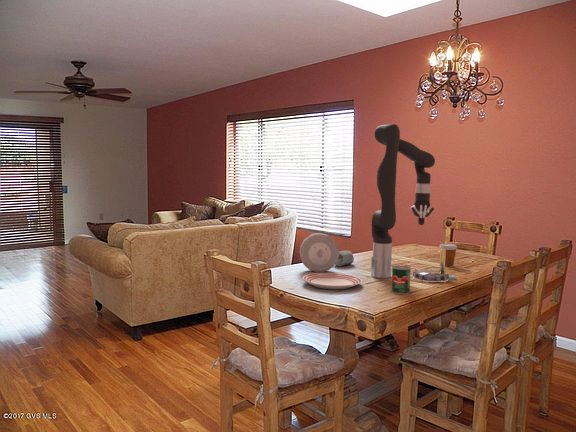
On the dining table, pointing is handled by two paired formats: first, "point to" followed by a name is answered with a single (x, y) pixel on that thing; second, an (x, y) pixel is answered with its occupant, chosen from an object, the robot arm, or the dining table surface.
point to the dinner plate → (332, 280)
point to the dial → (319, 259)
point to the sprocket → (433, 274)
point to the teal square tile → (452, 277)
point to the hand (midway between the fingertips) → (421, 224)
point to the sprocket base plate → (429, 281)
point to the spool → (344, 258)
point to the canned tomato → (401, 279)
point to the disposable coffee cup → (449, 253)
